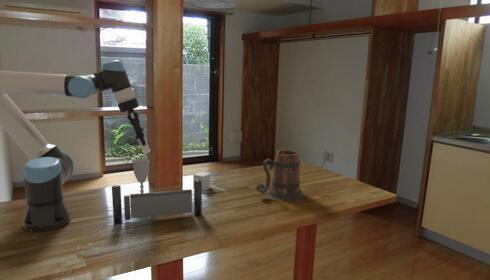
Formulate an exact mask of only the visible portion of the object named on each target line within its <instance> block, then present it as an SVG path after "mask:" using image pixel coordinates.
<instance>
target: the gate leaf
mask: <svg viewBox="0 0 490 280" xmlns="http://www.w3.org/2000/svg"><path fill="white" fill-rule="evenodd" d="M123 203H124V204H123V205H124V208H123V209H124V221H129V220H131V219H138V218H149V217H159V216H167V215H169V216H170V215H178V214H186V213H187V214H188V213H189V214H190V213H193V190H192V189H180V190H169V191H168V190H167V191H157V192H143V193H141V192H140V193H131V194H128V195H127V194H126V195H124V196H123Z"/></svg>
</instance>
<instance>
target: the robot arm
mask: <svg viewBox="0 0 490 280" xmlns="http://www.w3.org/2000/svg"><path fill="white" fill-rule="evenodd" d="M108 90H111V93H112V95H113V98H114V100H115V102H116V103H117V107H118V109H119V112H121V113H126V112H127V114H128V115H126V117H127V119H128V121H129V123H130V125H131V126H132V128H133V129H134V132H135V134H136V136H135V139H136V140H138V143H139V146H140V147H141V151H142V152H143V154H144V155H145V154H148V153H150V152H151V151H152V150H151V149H150V147H149V144H148V141H147V139H146V136H145V133H144V131H145V130H144V128H143V127H141V125H140V122H141V121H140V119H139V115H138V112H137V111H136V112H135V110H134V109H136V108H139V106H140V104H139V102H138V99H137V98H136V97H135V96H136V94H135V93H134V92H135V89H134V88H133V87H132V84H131V82H130V79H129V77H128V74H127V71H126V69H125V67H124V65H123V62H122V61H121V60H118V59H116V60H112V61H109V62H105V63H103V64H102V65H101V70H99V71H96V72H94V73H89V74H85V75H79V74H77V75H76V74H60V73H59V74H58V73H48V72H47V73H45V72H44V73H43V72H32V71H28V72H27V71H17V70H16V71H14V70H0V126H1V128H2V129H3V130H4V131H5V133H7V135H8V136H9V137H10V138H11V139H12V141H14V142H15V144H17V146H18V147H19V148H20V149H21V150H22V151H23V153H24V154H25V156H27V157H28V161H27V162H26V163H25V164H24V165H23V172H22V175H23V179H24V180H23V182H24V189H25V190H24V192H25V197H26V199H25V200H26V208H25V213H24V215H23V220H22V225H23V229H24V228H25V229H27V230H32V231H44V232H47V231H46V230H50V231H53V230H52V229H54V230H56V228H58V229H60V228H62V226H63V227H65V226H66V225H68V224H69V223H70V222H71V214H70V211H69V208H68V206H67V205H66V202H65V201H64V189H63V184H64V183H66V181H67V180H69V178H71V176H72V175H73V173H74V169H75V162H74V159H73V157H72V156H71V155H70V154H69V153H68V152H65V151H61V149H60V148H59V147H58V146H57V145H56V144H51V143H49V142H48V140H47V139H46V138H45V137H44V136H43V135H42V134H41V133H40V132H39V130H38V129H37V128H36V126H34V124H33V122H31V121H30V120H29V118H28V117H27V116H26V115H25V114H24V112H23V111H22V110H21V109H20V108H19V107H18V105H16V103H15V101H14V100H12V98H10V97H11V96H9V95H8V94H10V95H11V94H12V95H27V96H28V95H33V96H48V97H50V96H52V97H69V98H71V97H72V98H76V99H87V98H90V97H91V96H94V95H96V94H98V93H102V92H105V91H108ZM67 223H68V224H67ZM64 225H65V226H64ZM59 227H60V228H59ZM25 229H24V230H25ZM27 230H26V231H27Z"/></svg>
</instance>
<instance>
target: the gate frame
mask: <svg viewBox="0 0 490 280" xmlns="http://www.w3.org/2000/svg"><path fill="white" fill-rule="evenodd" d="M121 191H122V187H121V185H112V186H111V195H112V196H111V198H112V199H111V200H112V213H113V214H112V215H113V219H112V221H113V224H114V225H121V224H122V223H123V211H122V192H121ZM202 200H203V191H202V180H194V189H193V215H194V216H195V217H200V216H202V215H203V213H202V212H203V207H202V206H203V205H202V204H203V203H202V202H203V201H202Z"/></svg>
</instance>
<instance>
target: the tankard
mask: <svg viewBox="0 0 490 280" xmlns="http://www.w3.org/2000/svg"><path fill="white" fill-rule="evenodd" d="M267 164H268V165H267ZM262 165H263V171H265V174H266V181H265V185H264V184H263V183H261V182H260V183H257V185H256V190H257V191H258V192H259V193H260V194H265V193H267V195H268V196H269V197H270V198H273V199H276V200H280V201H297V200H300V199H302V198H303V197H304V193H303V192H302V190H301V189H300V186H301V181H300V165H301V160H300V155H299V152H298V151H294V150H288V149H280V150H277V151H276V152H275V156H274V159H273V160H272V159H271V158H266V159H264V161H263V162H262ZM272 169H273V174H272V179H271V174H270V171H271V170H272ZM269 170H270V171H269ZM270 183H271V185H272V186H271V187H270ZM269 187H270V189H269Z"/></svg>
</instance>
